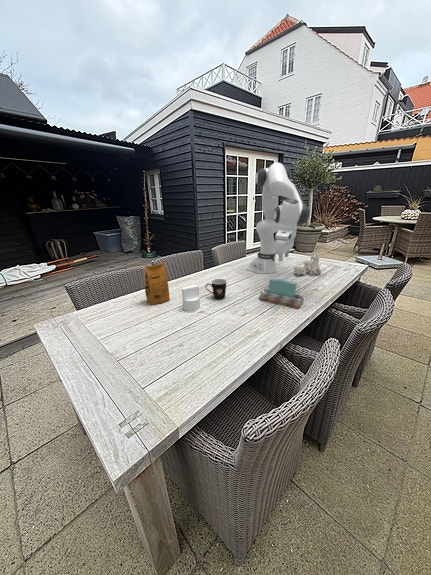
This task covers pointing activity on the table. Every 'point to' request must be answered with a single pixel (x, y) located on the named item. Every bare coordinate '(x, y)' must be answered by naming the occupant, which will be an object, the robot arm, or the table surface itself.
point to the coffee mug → (218, 288)
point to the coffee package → (156, 284)
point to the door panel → (282, 287)
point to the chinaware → (310, 266)
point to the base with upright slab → (191, 298)
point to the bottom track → (281, 299)
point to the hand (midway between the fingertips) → (283, 258)
